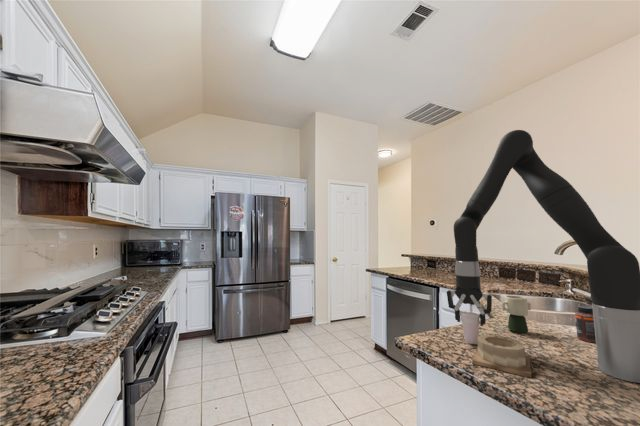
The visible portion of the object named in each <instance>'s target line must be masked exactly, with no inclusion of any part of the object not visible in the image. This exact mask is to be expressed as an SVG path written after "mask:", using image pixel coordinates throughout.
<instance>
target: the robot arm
mask: <svg viewBox="0 0 640 426" xmlns="http://www.w3.org/2000/svg"><path fill="white" fill-rule="evenodd" d="M512 169H513V170H514V171H515V172H516V173H517V174H518V175H519V177H521V179H522V181H523V182H524V184H525V185H526V186H527V188H528V189H529V191H530V193H531V195H532V196H533V197H534V198H535V201H537V203H538V204H539V205H540V207H541V208H542V209H543V210H544V212H545V213H546V214H547V215H548V216H549V217H550V218H551V219H552V220H553V221H554V222H555V223H556V224H557V225H558V226H559V227H560V228H561V229H562V230H563V231H564V232H565V233H567V234H568V235H569V236H570V237H571V238H572V239H573V241H574V242H575V243H576V245H577V246H578V248H579V249H580V251H581V252H582V254H583V255H584V257H585V258H586V265H587V274H588V275H587V276H588V284H589V293H590V298H591V307H592V308H593V317H594V327H595V337H596V343H595V344H596V346H595V347H596V355H597V364H598V365H597V366H598V370H599V371H601V372H602V373H604V374H606V375H608V376H610V377H614V378H616V379H619V380H622V381H626V382H631V383H637V384H640V263H639V260H638V258H637V257H636V255H635V254H634V253H632V252H631V251H630V250H628V249H627V248H625V247H624V246H623V245H622V244H621V243H620V242H619V241H617V240H616V238H614V237H613V236H612V235H611V234H610V233H609V232H608V231H607V230H606V229H605V228H604V226H603V225H601V223H600V221H599V220H598V218H597V217H596V215H595V213H594V212H593V211H592V209H591V207H590V206H589V204H588V203H587V202H586V201H585V199H584V198H583V196H582V195H581V194H580V193H579V192H578V191H577V190H576V189H575V188H574V186H573V185H572V184H571V183H570V182H569V181H568V180H567V179H565V178H564V177H563V176H561V175H560V174H559V173H557V172H556V171H554V170H553V169H551V168H549V167H548V166H547V165H546V164H545V163H544V162H543V160H542V159H541V157H540V156H539V155H538V153H537V152H536V150H535V149H534V140H533V137H532V135H531V134H530V133H529V132H527V131H526V130H523V129H516V130H511V131H509V132H507V133H506V134H505V135H504V136H502V137H501V139H500V141H499V144H498V146H497V148H496V151H495V154H494V157H493V158H492V160H491V163H490V165H489V167H488V168H487V170H486V172H485V174H484V176H483V178H482V179H481V181H480V182H479V184H478V186H477V187H476V189H475V190H474V191H473V193H472V195H471V197H470V198H469V200H468V202H467V203H466V206H465V209H464V210H463V212H462V214H461V215H460V217H458V218H457V219H456V220H455V222H454V223H453V234H454V235H453V237H454V243H455V252H454V253H455V267H454V268H455V271H454V273H455V288H456V289H455V290H451V289H449V290H447V291H446V298H447V304H448V308H449V309H452V310H454V319H455V320H456V321H457V322H456V323H460V322H461V316H460V315H459V314H460V311H461V310H460V308H461V306H462V305H463V304H466V305H467V304H469V305H470V304H471V305H472V306H475V307H476V309H477V310H478V312H479V314H480V318H479V325H480V326H482V327H483V326H484V325H485V324H486V323H487V321H486V319H487V318H486V315H487V314H491V313H492V308H493V307H492V302H493V294H491V293H489V294H487V293H483V292H482V287H481V285H482V284H481V273H480V271H481V269H480V265H479V264H480V263H479V252H478V250H479V249H478V246H477V230H478V228H479V226H480V224H481V223H482V221H483V219H484V217H485V216H486V215H487V214H488V213H489V211H490V209H491V208H492V206H493V205H494V203H495V202H496V200H497V198H498V196H499V194H500V192H501V191H502V188H503V187H504V183H505V182H506V180H507V177H508V176H509V173H510V172H511V170H512ZM455 295H456V297H457V298H458V301H457V303H456V305H455V304H454V296H455ZM482 298H484V301H485V302H486V308H484V307H483V304H482V303H481V301H480V300H481V299H482Z"/></svg>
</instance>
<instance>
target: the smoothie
mask: <svg viewBox="0 0 640 426" xmlns="http://www.w3.org/2000/svg"><path fill="white" fill-rule="evenodd" d="M469 307H470V309H469V310H460V314H459V315H460V322H461V324H462V330H463V337H464V341H465V342H466V343H467V344H471V345H478V342H477V339H478V336H479V331H480V312H477V311H473V305H471V304H469Z"/></svg>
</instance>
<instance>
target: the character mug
mask: <svg viewBox="0 0 640 426" xmlns="http://www.w3.org/2000/svg"><path fill="white" fill-rule="evenodd" d="M501 309H502V311H505V312H506V313H507V314H509V315H508V321H507V322H508V323H507V329H508V330H511V331H513V332H514V331H515V333H517V332H518V333H522V334H527V333H528V332H529V327H528V323H527V320H526V317H525V316H529V311H531V310H532V307H531V302H530V301H528V298H527V297H526V296H521V295H512V294H511V295H510V294H509V295H508V294H507V295H504V301H502V302H501Z"/></svg>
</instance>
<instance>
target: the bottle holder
mask: <svg viewBox="0 0 640 426" xmlns="http://www.w3.org/2000/svg"><path fill="white" fill-rule="evenodd" d="M477 342H478V343H477V347H476V349H475V352H474V354H473V357H472V360H471V361H472V365H475V366H480V367H485V368H489V369H493V370H497V371H501V372H506V373H509V374H514V375H519V376H522V377H524V378H525V377H526V378H530V379H532V370H531V360H530V356H529V355H527V354H526V350H525V344H524V343H522V342H520V341H519V340H517V339H513V338H510V337H507V336H501V335H496V334H481V335H478V339H477Z"/></svg>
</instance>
